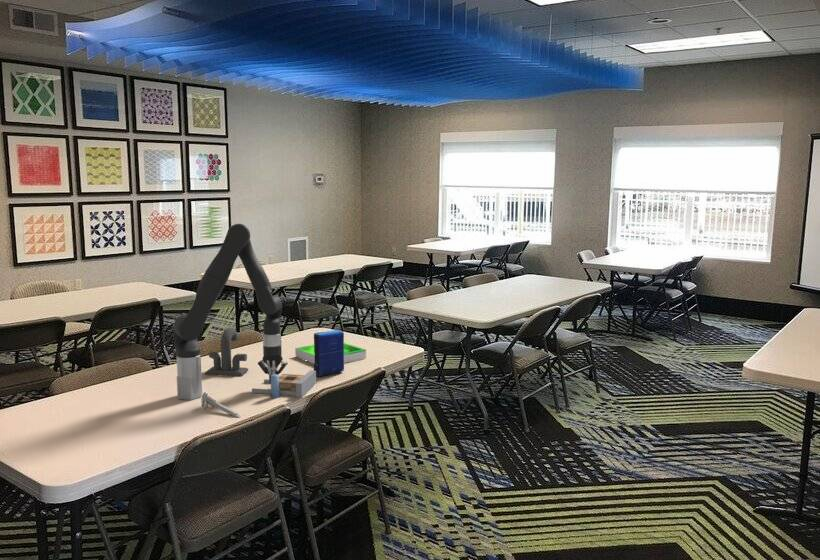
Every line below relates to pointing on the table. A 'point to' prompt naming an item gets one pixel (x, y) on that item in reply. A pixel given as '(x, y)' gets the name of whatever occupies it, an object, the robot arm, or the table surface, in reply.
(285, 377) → the socket block
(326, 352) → the book
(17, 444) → the table surface
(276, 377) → the dowel
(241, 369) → the faucet
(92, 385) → the table surface
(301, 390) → the backstop
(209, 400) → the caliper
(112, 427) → the table surface
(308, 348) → the tray
